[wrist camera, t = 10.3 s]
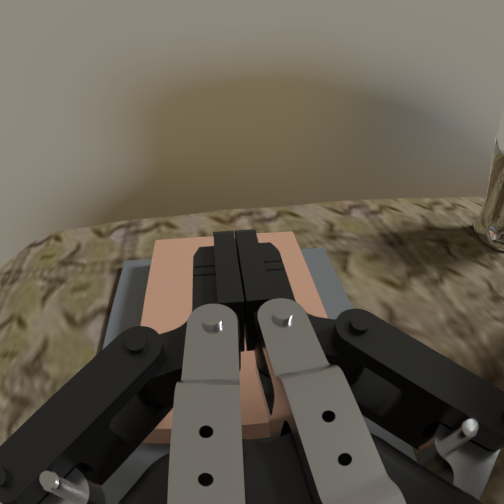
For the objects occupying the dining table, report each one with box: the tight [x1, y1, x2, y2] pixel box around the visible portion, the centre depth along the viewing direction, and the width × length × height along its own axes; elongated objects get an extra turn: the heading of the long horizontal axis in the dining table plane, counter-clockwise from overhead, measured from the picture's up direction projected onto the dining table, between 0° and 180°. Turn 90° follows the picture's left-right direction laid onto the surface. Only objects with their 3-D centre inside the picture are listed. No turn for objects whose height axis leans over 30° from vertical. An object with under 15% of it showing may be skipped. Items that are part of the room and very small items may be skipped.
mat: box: [101, 248, 417, 504], centre depth 17 cm, size 16×20×1 cm
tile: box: [141, 232, 328, 444], centre depth 18 cm, size 10×2×14 cm
